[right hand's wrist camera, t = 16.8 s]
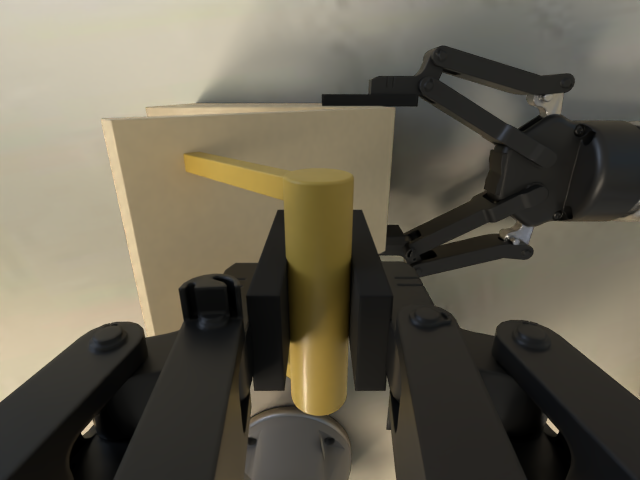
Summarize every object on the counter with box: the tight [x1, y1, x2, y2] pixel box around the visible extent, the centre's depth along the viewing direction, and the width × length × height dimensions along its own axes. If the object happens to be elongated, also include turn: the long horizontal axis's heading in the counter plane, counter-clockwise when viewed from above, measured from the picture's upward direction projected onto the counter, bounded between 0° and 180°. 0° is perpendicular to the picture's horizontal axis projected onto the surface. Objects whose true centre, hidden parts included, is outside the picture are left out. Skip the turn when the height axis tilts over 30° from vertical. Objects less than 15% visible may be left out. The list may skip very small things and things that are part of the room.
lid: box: [101, 107, 395, 416], centre depth 17 cm, size 16×10×9 cm
